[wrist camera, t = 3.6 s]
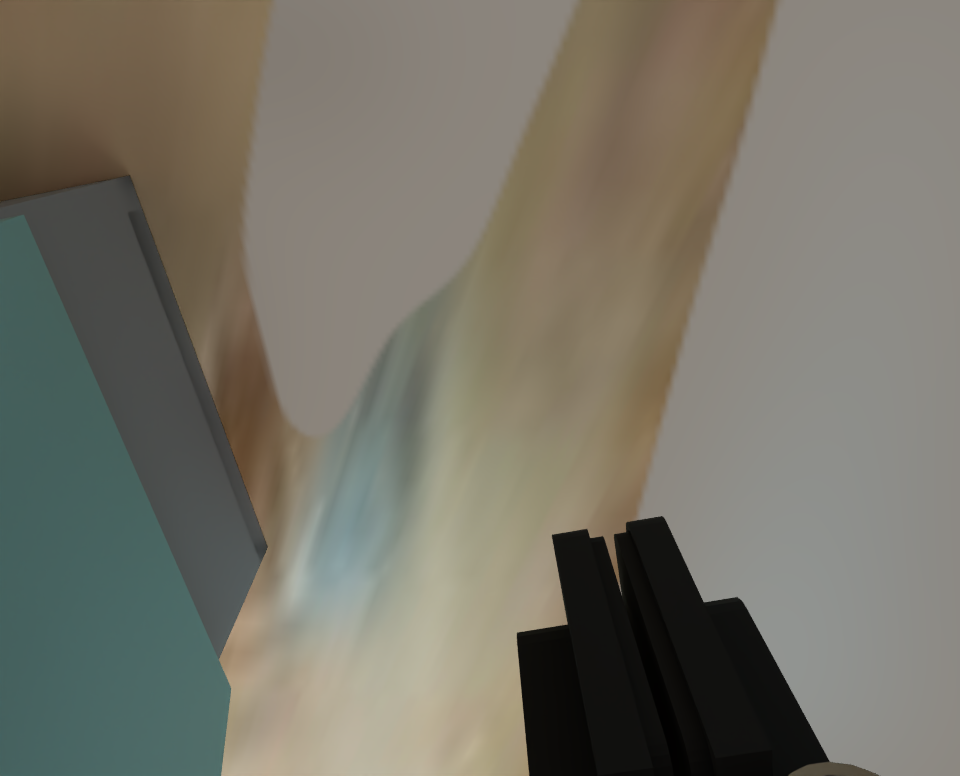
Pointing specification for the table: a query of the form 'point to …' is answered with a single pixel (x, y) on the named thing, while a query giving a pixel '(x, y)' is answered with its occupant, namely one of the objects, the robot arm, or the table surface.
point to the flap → (86, 569)
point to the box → (151, 386)
